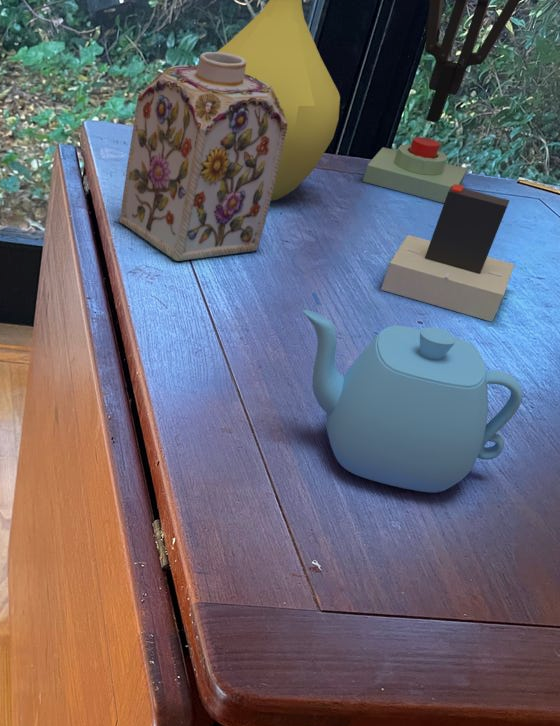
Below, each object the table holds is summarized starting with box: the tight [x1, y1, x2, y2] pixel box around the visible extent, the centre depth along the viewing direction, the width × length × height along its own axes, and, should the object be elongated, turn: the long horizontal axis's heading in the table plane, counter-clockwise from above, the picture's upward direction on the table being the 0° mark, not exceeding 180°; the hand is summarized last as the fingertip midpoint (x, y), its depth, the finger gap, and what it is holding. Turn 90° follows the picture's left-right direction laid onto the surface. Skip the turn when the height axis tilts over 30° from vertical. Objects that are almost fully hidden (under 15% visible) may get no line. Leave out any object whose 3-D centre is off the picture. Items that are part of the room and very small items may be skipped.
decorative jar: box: [119, 51, 288, 262], centre depth 105 cm, size 12×12×18 cm
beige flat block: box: [380, 234, 516, 323], centre depth 108 cm, size 12×10×3 cm
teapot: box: [302, 309, 523, 493], centre depth 78 cm, size 13×11×18 cm
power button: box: [409, 136, 441, 158], centre depth 133 cm, size 4×4×2 cm
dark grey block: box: [425, 184, 510, 273], centre depth 104 cm, size 6×2×7 cm, turn 65°
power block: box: [362, 143, 468, 204], centre depth 134 cm, size 12×10×4 cm
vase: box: [217, 0, 341, 202], centre depth 116 cm, size 18×18×30 cm
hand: (433, 119), depth 130 cm, fingers closed
